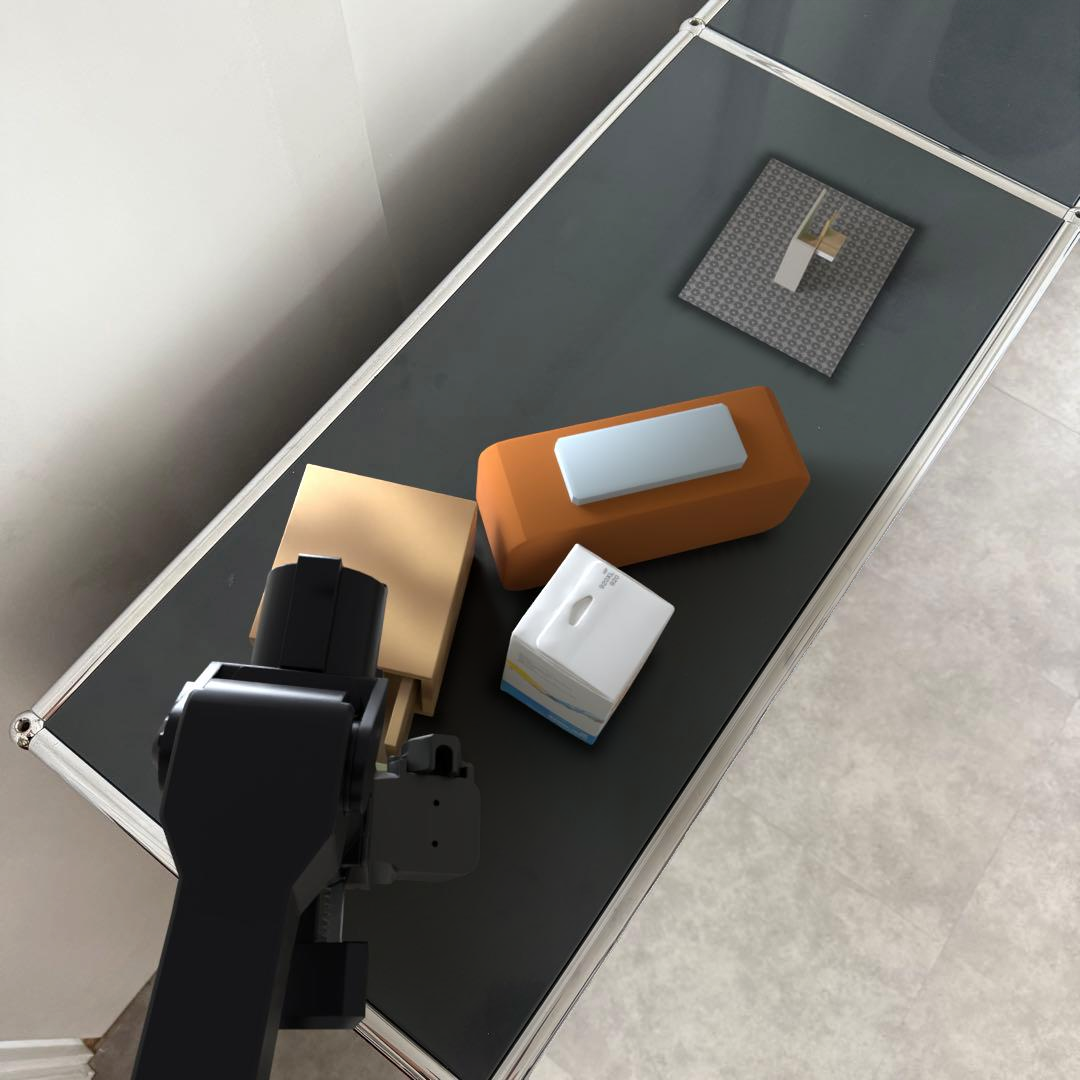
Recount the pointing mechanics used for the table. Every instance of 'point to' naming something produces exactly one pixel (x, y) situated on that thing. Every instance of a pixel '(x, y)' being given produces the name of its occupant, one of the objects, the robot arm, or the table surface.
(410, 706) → the drawer
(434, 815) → the robot arm
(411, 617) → the cabinet
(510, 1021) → the table surface
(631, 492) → the alarm clock
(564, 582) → the ink box
